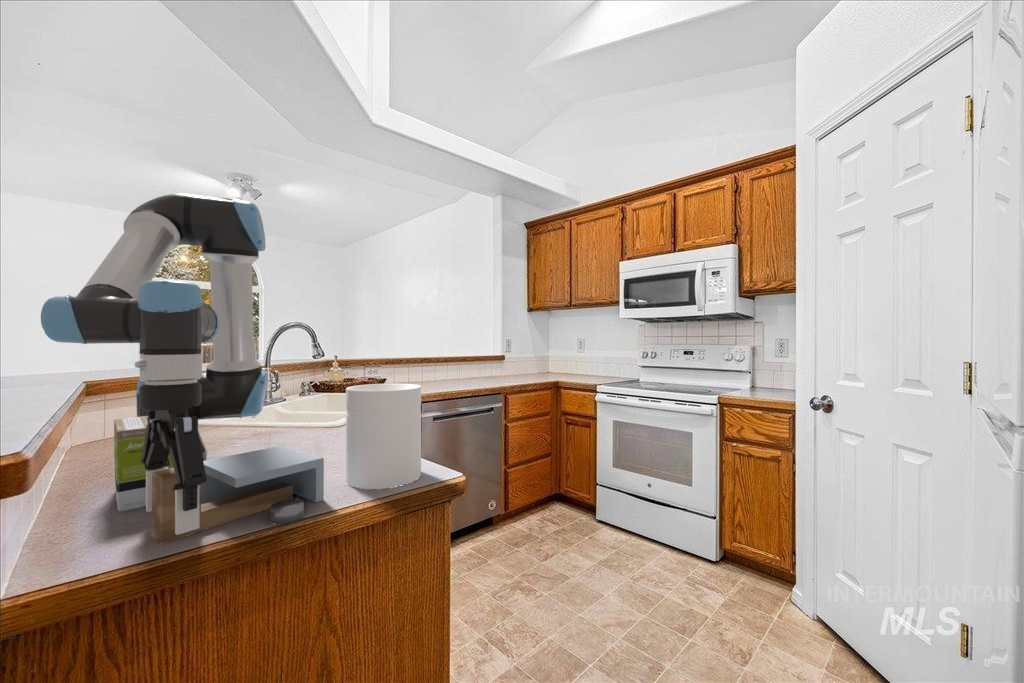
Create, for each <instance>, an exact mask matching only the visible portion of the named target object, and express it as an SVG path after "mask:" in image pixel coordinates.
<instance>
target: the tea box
mask: <svg viewBox="0 0 1024 683" xmlns="http://www.w3.org/2000/svg"><path fill="white" fill-rule="evenodd" d="M147 418H148V416H142V417H137V416H136V417H134V416H133V417H126V418H116V419H114V421H113V425H114V426H113V433H114V434H113V440H114V441H113V446H114V447H113V451H114V481H115V499H116V507H117V508H116V509H117V511H118V512H119V513H121V511H122V512H125V511H126V510H127V511H131V509H132V510H136V509H135V508H137V509H140V508H139V507H142V508H144V507H143V506H146V471H149V469H148V470H146V469H145V467H144V465H145V464H142V462H141V459H142V453H143V446H144V440H145V434H146V428H147ZM168 459H169V460H170V464H171V465H169V466H164V467H162V468H165V467H167V468H168V469H170V468H174V467H173V463H172V459H171V455H170V453H169V456H168Z"/></svg>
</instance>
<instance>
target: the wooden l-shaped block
mask: <svg viewBox="0 0 1024 683" xmlns="http://www.w3.org/2000/svg"><path fill="white" fill-rule="evenodd" d="M190 477H193V476H190ZM174 484H178V483H177V479H176V475H175V471H174V468H170V469H165V470H160V471H155V472H152V511H151V538H152V539H153V540H155V539H156V540H155V541H157V542H158V541H159V542H158V543H160V542H161V543H164V544H166V542H167V543H170V542H173V541H175V540H178V539H182V538H185V537H188V536H187V535H189V536H191V535H190V534H192V535H194V534H193V533H195V534H197V533H196V532H198V533H200V532H199V531H201V530H202V531H204V530H203V529H205V530H207V529H206V528H208V529H210V527H211V528H214V527H217V526H219V525H220V526H221V525H224V524H226V523H228V522H229V523H230V522H232V521H235V520H238V519H243V518H245V517H247V516H252V515H254V513H255V514H258V513H261V512H263V510H264V511H266V509H267V510H270V509H269V508H270V507H271V505H272V504H274V503H276V502H279V501H283V500H288V499H294V498H293V497H294V496H293V494H294V493H293V485H290V484H287V483H284V482H280V483H277V484H273V485H270V486H266V487H262V488H259V489H255V490H252V491H248V492H244V493H241V494H237V495H234V496H230V497H227V498H223V499H219V500H216V501H212V502H209V503H205V504H201V484H200V485H199V529H195V530H192V531H189V532H185V533H182V534H179V535H176V534H175V491H173V490H172V488H173V486H174ZM260 511H261V512H260ZM257 512H258V513H257ZM213 526H214V527H213ZM202 531H201V532H202ZM172 540H173V541H172ZM169 541H170V542H169ZM161 543H160V544H161Z"/></svg>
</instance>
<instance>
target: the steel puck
mask: <svg viewBox="0 0 1024 683" xmlns="http://www.w3.org/2000/svg"><path fill="white" fill-rule="evenodd" d="M304 502H305V500H303V499H300V498H293V499H288V500H283V501H279V502H276V503H274V504H272V505H271V507H270V509H269V512H270V516H269V518H270V521H271V522H272V523H275V524H274V525H278V524H281V525H287V524H288V525H289V524H292V523H295V522H298V521H300V520H301V519H303V518H304V517H305V516H304V515H305V511H304V506H305V504H304ZM271 522H270V523H271ZM272 523H271V524H272Z"/></svg>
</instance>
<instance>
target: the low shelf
mask: <svg viewBox="0 0 1024 683" xmlns="http://www.w3.org/2000/svg"><path fill="white" fill-rule="evenodd" d="M324 460H325V458H324V457H322V456H319V455H316V454H311V453H309V452H305V451H301V450H298V449H294V448H291V447H288V446H284V445H278V446H274V447H268V448H264V449H258V450H253V451H248V452H242V453H237V454H233V455H228V456H227V455H226V456H221V457H216V458H212V459H207V460H205V461H203V462H204V468H205V474H206V478H207V479H206V482H205V483H201V504H205V503H209V502H212V501H216V500H219V499H223V498H227V497H230V496H234V495H237V494H241V493H244V492H248V491H252V490H255V489H259V488H262V487H266V486H270V485H273V484H277V483H280V482H284V483H287V484H290V485H293V494H295V495H298V496H299V497H302V498H304V499H307V500H309V501H311V500H312V502H314V503H319V502H322V501H324V500H325V499H324V498H325V497H324V491H325V490H324V488H325V487H324V485H325V482H324V480H325V479H324V478H325V476H324V474H325V472H324V471H325V470H324V469H325V468H324V467H325V465H324V462H325V461H324Z"/></svg>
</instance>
